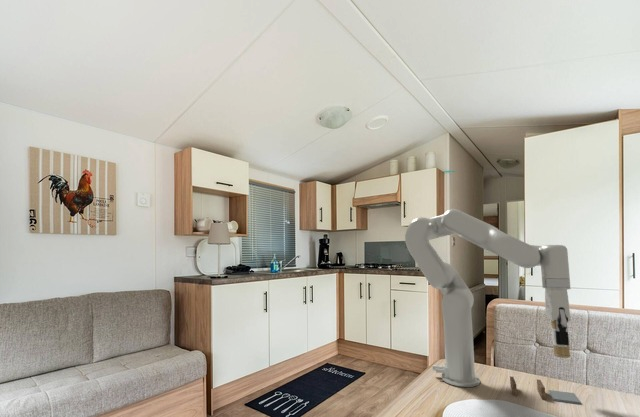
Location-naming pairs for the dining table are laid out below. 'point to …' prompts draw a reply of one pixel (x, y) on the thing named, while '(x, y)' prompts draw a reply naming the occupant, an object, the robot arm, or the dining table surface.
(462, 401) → the dining table surface
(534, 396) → the dining table surface
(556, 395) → the slate coaster
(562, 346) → the sprinkles bottle
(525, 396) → the dining table surface
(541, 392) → the walnut rack
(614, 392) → the dining table surface
